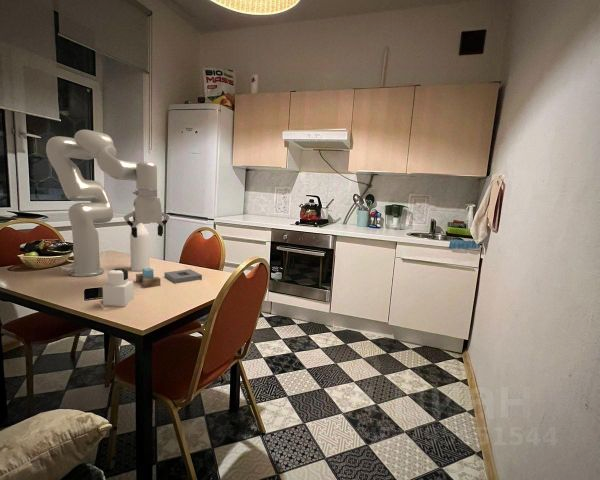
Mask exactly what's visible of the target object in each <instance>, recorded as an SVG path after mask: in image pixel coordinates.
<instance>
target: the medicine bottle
mask: <svg viewBox="0 0 600 480" xmlns="http://www.w3.org/2000/svg"><path fill="white" fill-rule="evenodd" d="M101 290H102V305H103V306H116V307H117V308H119V307H123V308H124V307H126V306H127V305H128V304H129V303H130V302H132V300H134V299H135V297H134V281H133V280H129V270H128V269H125V268H123V267H122V268H117V267H116V268H112V269H110V270H108V271H107V283H106V284H104V285H102V288H101Z"/></svg>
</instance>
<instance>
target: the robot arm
mask: <svg viewBox="0 0 600 480" xmlns="http://www.w3.org/2000/svg"><path fill="white" fill-rule="evenodd" d="M73 136H74V137H69V136H59V135H57V136H52V137H51V138H49V139H48V140H47V143H46V147H45V151H46V156H47V158H48V161H49V162H50V164H51V166H52V168H53V169H54V171H55V173H56V175H57V179H58V180H59V181H58V182H59V183H60V186H61V188H62V191H63V193H64V195H65V197H66V198H67V200H69V201H72V202H76V203H74V204H72V205H71V206H70V207H69V208H68V212H67V213H68V219H69V223H70V225H71V232H72V233H71V235H72V248H73V249H72V250H73V251H72V252H73V263H72V264H71V265H69V266H66V265H65V266H60V271H61V272H69V274H70V276H72V277H77V278H78V277H84V278H85V277H94V276H99V275H102V274H104V271H105V270H104V268H101V264H100V239H99V232H98V230H97V229H96V227H95V226H94V225H97V224H105V223H109V222H111V221H112V219H113V217H114V210H113V208H112V203H111V202H110V199H109V196H108V193H107V192H106V189H105V187H104V185H103V184H101V183H100V182H99V181H96V180H91V179H85V178H84V177H83V175H82V172H81V170H80V169H79V167H78V166H77V165H76V163H75V162H73V161H72V160H71V159H79V160H87V161H88V160H94V159H95V160H96V163H97V165H98V167H99V169H100V171H102V172H103V173H105V174H106V175H108V177H111V178H112V179H114V180H119V181H132V182H136V183H135V186H136V187H135V190H133V191H132V195H135V196H136V197H135V196H134V200H133V204H132V205H133V207H132V212H130V213H127V214H125V215H123V220H124V221H125V223H126V224H127V225H128V226H130V229H131V232H130V233H131V234H132V235H133V237H135V238H137V228H136V226H137V224H138V223H143V224H149V223H150V224H151V223H152V224H153V223H154V224H155V223H157V236H158V237H163V234H164V227H165V225H166V224H167V223H168V220H169V219H170V215H168V214H166V213H164V212H163V210H162V204H161V199H160V197H158V168H157V167H158V166H157V165H156V164H155V163H153V162H146V161H143V162H142V161H140V162H138V161H136V162H135V161H129V160H122V159H117V158H116V155H117V149H116V147H115V146H114V141H113V139H112V137H111V136H110V135H108V134H106V133H103V132H100V131H94V130H90V129H80V130H78V131H76V133H75V134H74V135H73ZM131 217H132V221H130V218H131Z"/></svg>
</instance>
